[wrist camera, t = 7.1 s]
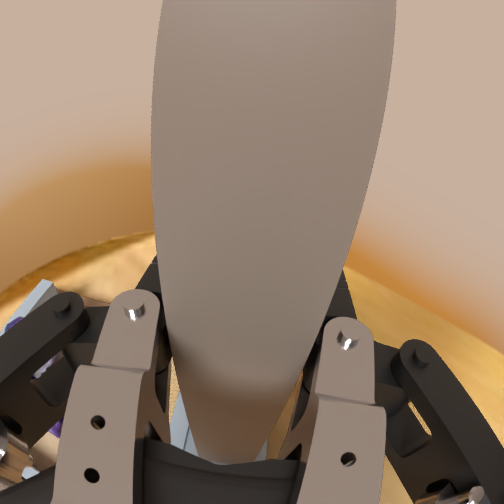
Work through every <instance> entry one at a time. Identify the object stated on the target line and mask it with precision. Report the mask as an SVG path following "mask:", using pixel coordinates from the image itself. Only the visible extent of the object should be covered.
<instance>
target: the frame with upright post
mask: <svg viewBox="0 0 504 504" xmlns="http://www.w3.org/2000/svg"><path fill="white" fill-rule="evenodd" d="M395 18H396V0H163V3H162V9H161V16H160V22H159V29H158V37H157V46H156V56H155V65H154V77H153V93H152V116H151V174H152V199H153V214H154V229H155V240H156V251H157V260H158V269H159V277H160V285H161V292H162V299H163V306H164V312H165V318H166V324H167V330H168V336H169V341H170V346H171V351H172V356H173V361H174V366H175V371H176V375H177V380H178V384H179V388H180V391H179V394H178V398H177V401H176V405H175V408H174V412H173V416H172V419H171V423H170V433H171V444H172V445H174V446H176V447H178V448H180V449H182V450H184V451H187V452H189V453H191V454H193V455H195V456H198V457H200V458H202V459H205V460H207V461H210V462H212V463H215V464H218V465H230V464H240V463H248V462H256V461H263V460H266V453H267V440H268V436H269V435H270V433H271V431H272V429H273V427H274V425H275V424H276V422H277V420H278V418H279V416H280V414H281V412H282V410H283V408H284V406H285V404H286V402H287V400H288V398H289V396H290V394H291V392H292V390H293V388H294V386H295V384H296V382H297V380H298V378H299V376H300V373H301V371H302V369H303V367H304V365H305V363H306V360H307V358H308V356H309V354H310V351H311V349H312V347H313V344H314V342H315V340H316V337H317V335H318V333H319V330H320V328H321V325H322V323H323V320H324V318H325V315H326V313H327V310H328V308H329V305H330V302H331V300H332V297H333V295H334V292H335V289H336V286H337V284H338V281H339V278H340V275H341V272H342V270H343V267H344V264H345V261H346V258H347V255H348V252H349V249H350V246H351V243H352V239H353V236H354V233H355V230H356V227H357V223H358V220H359V216H360V213H361V210H362V206H363V202H364V199H365V195H366V191H367V188H368V183H369V180H370V176H371V172H372V168H373V163H374V159H375V154H376V151H377V146H378V141H379V137H380V132H381V127H382V122H383V116H384V111H385V105H386V99H387V92H388V86H389V79H390V72H391V63H392V55H393V45H394V34H395V33H394V32H395ZM57 294H58V293H57V291H56V288H55V286H54V283H53V282H50V281H47V280H44V279H42V281H41V282H40V283H39V284H38V285H37V286H36V287H35V289H34V290H33V291H32V292H31V293H30V294H29V296H28V297H27V298H26V299H25V300H24V302H23V303H22V304H21V305H20V307H19V308H18V309H17V310H16V312H15V313H14V314H13V315H12V317H11V318H10V319H9V321H8V322H7V323H6V325H7V324H8V323H10V322H11V321H13V320H14V319H16V318H17V317H20V316H21V317H26V316H27V315H28V314H29V313H31V312H32V311H33V310H35V309H36V308H38V307H39V306H40V305H42V304H43V303H44V302H46V301H47V300H49V299H50V298H51V297H53V296H54V295H57ZM6 325H5V326H4V327H3V329H2V330H1V332H0V336H1V335H3V334H4V333H5V328H6ZM38 473H40V471H39V470H37V469H36V468H34V467H33V466H31V467H30V468H25V469H24V471H23V473H22V476H23V477H24V478H25V479H28V478H30V477H32V476H34V475H36V474H38Z"/></svg>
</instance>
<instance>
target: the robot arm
mask: <svg viewBox="0 0 504 504" xmlns="http://www.w3.org/2000/svg"><path fill="white" fill-rule="evenodd" d="M60 351H61V353H62V354H63V357H62V358H61V359H60V360H58V361H57V362H56V363H55V364H54V365H53V366H52V367H50V368H49V369H48V370H47V371H46V372H45V373H44V374H42V375H41V376H40V377H39V378H37V379H31V377H32V375H33V374H34V373H35V372H36V371H37V370H39V369H40V368H41V367H42V366H43V365H44V364H46V363H47V362H48V361H49V360H50V359H51V358H53V357H54V356H55V355H56V354H57V353H58V352H60ZM171 358H172V351H171V346H170V341H169V336H168V330H167V324H166V318H165V312H164V306H163V299H162V292H161V285H160V277H159V269H158V260H157V255H156V256H155V258H154V259H153V261H152V264H150V265H149V267H148V269H147V270H146V272H145V273H144V275H143V277H142V278H141V280H140V281H139V283H138V285H137V286H136V288H135V289H133V290H128V291H125V292H123V293H121V294H119V295H118V296H116V297H115V298H114V300H113V301H112V302H111V304H110V306H95V307H85V304H84V301H83V299H82V297H81V296H80V295H78V294H76V293H74V292H62V293H59V294H57V295H54V296H53V297H51V298H50V299H49V300H47V301H46V302H44V303H43V304H42V305H40V306H39V307H38V308H36V309H35V310H33V311H32V312H31V313H29V314H28V315H27V316H26V317H24V318H23V319H22V320H20V321H19V322H18V323H16V324H15V325H14V326H13V327H11V328H10V329H9V330H8V331H6V332H5V333H4V334H3V335H1V336H0V504H379V500H380V493H381V486H382V477H383V468H384V456H385V454H386V456H387V458H388V460H389V461H390V463H391V465H392V466H393V468H394V470H395V472H396V473H397V475H398V477H399V479H400V480H401V482H402V484H403V486H404V487H405V489H406V491H407V493H408V495H409V496H410V498H411V500H412V502H413V503H414V504H504V448H503V446H502V445H501V443H500V441H499V440H498V438H497V437H496V435H495V433H494V432H493V430H492V429H491V427H490V425H489V424H488V422H487V421H486V419H485V418H484V416H483V415H482V413H481V412H480V410H479V409H478V407H477V406H476V405H475V403H474V402H473V400H472V399H471V397H470V396H469V395H468V393H467V392H466V390H465V389H464V388H463V386H462V385H461V383H460V382H459V381H458V379H457V378H456V377H455V375H454V374H453V373H452V371H451V370H450V369H449V368H448V366H447V365H446V364H445V362H444V361H443V360H442V358H441V357H440V356H439V355H438V353H437V352H436V351H435V350H434V349H433V348H432V347H431V346H430V345H429V344H427V343H426V342H424V341H421V340H417V339H412V340H408V341H406V342H405V343H404V344H403V345H402V346H401V348H400V349H397V348H393V347H390V346H387V345H384V344H381V343H378V342H376V341H374V340H373V336H372V334H371V332H370V330H369V329H368V328H367V327H366V326H365V325H364V324H363V323H361V322H360V321H358V320H357V317H356V314H355V310H354V306H353V303H352V299H351V296H350V292H349V290H348V285H347V282H346V278H345V275H344V272H343V270H342V272H341V275H340V278H339V281H338V284H337V286H336V289H335V292H334V295H333V297H332V300H331V302H330V305H329V308H328V310H327V313H326V315H325V318H324V320H323V323H322V325H321V328H320V330H319V333H318V335H317V337H316V340H315V342H314V344H313V347H312V349H311V351H310V354H309V356H308V358H307V360H306V363H305V365H304V367H303V376H302V378H301V380H300V383H299V386H298V391H297V395H296V400H295V404H294V408H293V412H292V417H291V421H290V425H289V428H288V432H287V435H286V438H285V440H284V443H283V445H282V447H281V450H280V453H279V456H278V459H269V460H263V461H256V462H248V463H240V464H230V465H218V464H215V463H212V462H210V461H207V460H205V459H202V458H200V457H198V456H195V455H193V454H191V453H189V452H187V451H184V450H182V449H180V448H178V447H176V446H174V445H172V444H171V433H170V425H169V396H170V379H171ZM410 402H412V403H413V405H414V406H415V408H416V409H417V411H418V412H419V414H420V415H421V417H422V418H423V420H424V421H425V423H426V424H427V426H428V428H429V429H430V431H431V434H432V436H431V435H429V434H427V433H426V432H425V430H424V429H423V427H422V425H421V424H420V422H419V421H418V419H417V418H416V416H415V415H414V413H413V412H412V410H411V409H410V407H409V406H408V403H410ZM64 415H65V416H64ZM63 416H64V420H63V425H62V430H61V436H60V441H59V447H58V454H57V461H56V465H54V466H52V467H50V468H48V469H46V470H44V471H42V472H40V473H38V474H36V475H34V476H32V477H30V478H28V479H26V480H24V481H22V482H21V476H22V473H23V471H24V469H25V468H30V467H31V466H32V465H33V457H32V455H31V454H30V453H29V449H30V448H31V447H32V446H33V445H34V444H35V443H36V442H37V441H38V440H39V439H40V438H41V437H42V436H43V435H44V434H46V433H47V432H48V431H49V430H50V429H51V428H52V427H53V426H54V425H55V424H56V423H57V422H58V421H59V420H60V419H61V418H62V417H63Z"/></svg>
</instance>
